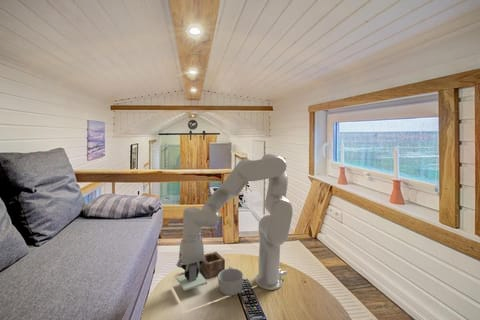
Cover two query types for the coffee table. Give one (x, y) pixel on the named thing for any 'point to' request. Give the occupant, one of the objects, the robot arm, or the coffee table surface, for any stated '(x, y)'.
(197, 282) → the lid
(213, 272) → the brown wooden box
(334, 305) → the coffee table surface
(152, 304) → the coffee table surface
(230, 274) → the teacup
